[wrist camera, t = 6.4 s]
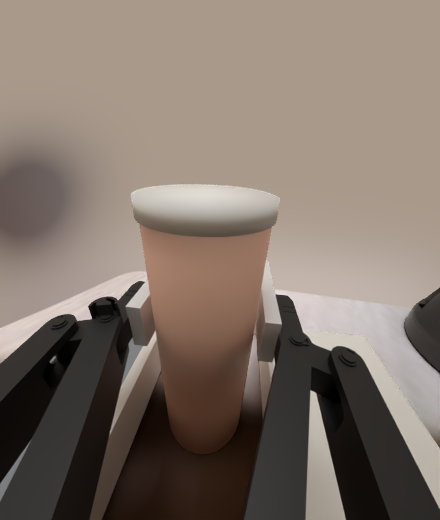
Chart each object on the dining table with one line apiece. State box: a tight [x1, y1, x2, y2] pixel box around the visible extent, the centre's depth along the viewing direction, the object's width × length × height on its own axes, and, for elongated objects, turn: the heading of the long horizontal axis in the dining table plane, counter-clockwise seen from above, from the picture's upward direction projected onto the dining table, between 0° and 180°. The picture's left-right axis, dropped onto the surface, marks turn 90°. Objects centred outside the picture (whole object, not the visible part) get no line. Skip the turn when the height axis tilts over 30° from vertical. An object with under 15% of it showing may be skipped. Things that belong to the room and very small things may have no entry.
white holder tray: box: [89, 323, 440, 520], centre depth 14 cm, size 21×18×4 cm
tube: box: [131, 184, 280, 455], centre depth 12 cm, size 6×6×16 cm
